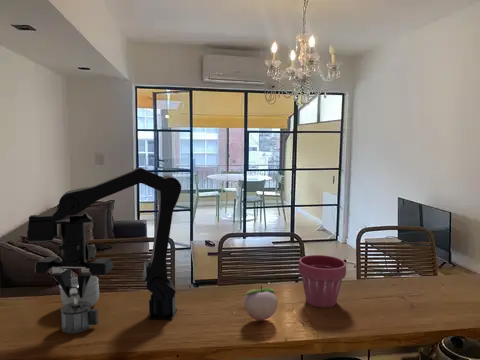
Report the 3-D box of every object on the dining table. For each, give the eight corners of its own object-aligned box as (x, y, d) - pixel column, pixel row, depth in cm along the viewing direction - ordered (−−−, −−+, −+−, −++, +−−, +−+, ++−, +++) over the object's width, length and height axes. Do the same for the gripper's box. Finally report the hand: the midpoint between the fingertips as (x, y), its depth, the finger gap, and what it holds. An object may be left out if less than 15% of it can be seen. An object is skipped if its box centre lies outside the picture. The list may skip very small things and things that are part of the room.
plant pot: (355, 304, 120) (356, 263, 119) (322, 315, 113) (323, 271, 111) (320, 289, 132) (321, 252, 131) (288, 299, 124) (289, 259, 123)
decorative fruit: (254, 331, 103) (254, 294, 102) (239, 319, 110) (239, 284, 109) (284, 323, 107) (284, 288, 106) (268, 312, 115) (268, 278, 114)
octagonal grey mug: (102, 321, 109) (102, 302, 108) (91, 334, 102) (90, 313, 101) (70, 320, 110) (69, 301, 109) (56, 332, 102) (55, 312, 102)
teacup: (86, 316, 112) (85, 289, 111) (52, 313, 114) (50, 286, 114) (111, 297, 126) (110, 273, 125) (80, 294, 128) (79, 270, 127)
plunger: (88, 311, 108) (87, 283, 107) (80, 319, 103) (79, 289, 102) (72, 311, 108) (71, 282, 107) (63, 318, 103) (62, 289, 103)
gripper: (119, 232, 111) (121, 287, 112) (55, 231, 112) (57, 285, 114) (103, 243, 100) (105, 303, 101) (32, 241, 101) (35, 300, 103)
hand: (75, 297), depth 105 cm, fingers closed on plunger, 3 cm apart
